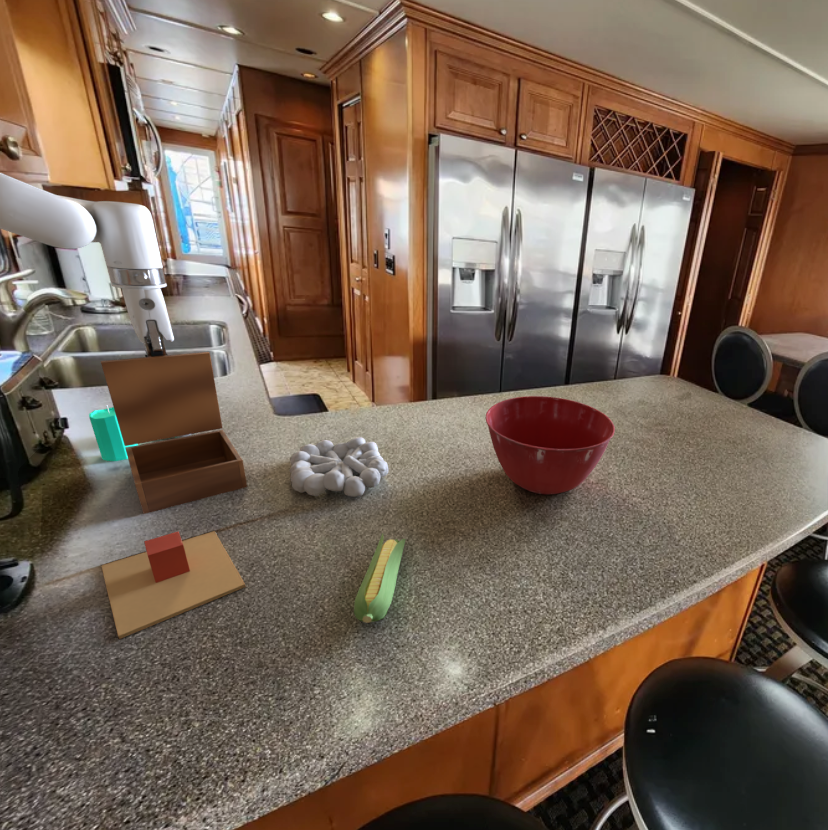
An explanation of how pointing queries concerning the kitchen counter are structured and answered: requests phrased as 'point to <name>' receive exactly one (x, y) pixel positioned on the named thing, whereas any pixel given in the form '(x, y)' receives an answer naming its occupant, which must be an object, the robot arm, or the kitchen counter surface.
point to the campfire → (337, 467)
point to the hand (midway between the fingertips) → (161, 374)
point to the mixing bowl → (548, 441)
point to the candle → (108, 434)
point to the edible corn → (379, 582)
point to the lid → (163, 396)
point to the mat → (168, 585)
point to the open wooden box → (185, 469)
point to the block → (167, 556)
